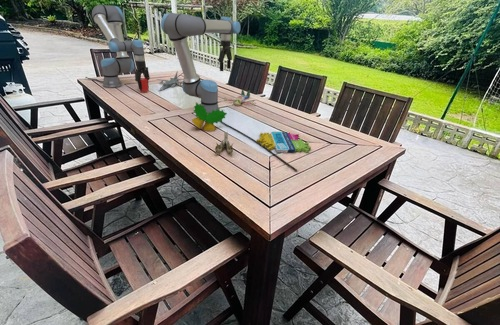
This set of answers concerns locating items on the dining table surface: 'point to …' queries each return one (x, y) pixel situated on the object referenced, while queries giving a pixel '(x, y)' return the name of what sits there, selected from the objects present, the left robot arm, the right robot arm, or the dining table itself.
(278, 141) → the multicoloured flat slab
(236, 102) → the toy
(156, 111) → the dining table surface
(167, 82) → the airplane
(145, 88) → the can
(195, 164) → the dining table surface
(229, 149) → the jawbone
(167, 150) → the dining table surface
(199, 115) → the ornament
